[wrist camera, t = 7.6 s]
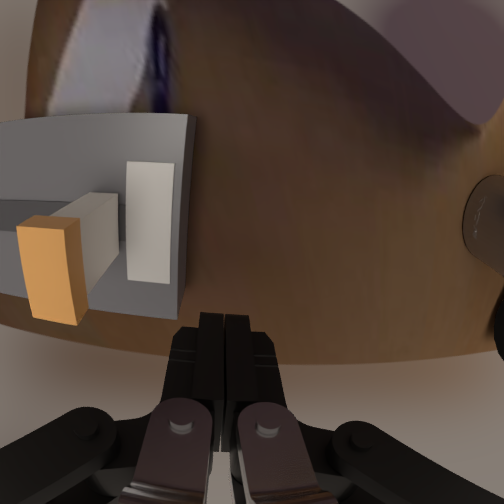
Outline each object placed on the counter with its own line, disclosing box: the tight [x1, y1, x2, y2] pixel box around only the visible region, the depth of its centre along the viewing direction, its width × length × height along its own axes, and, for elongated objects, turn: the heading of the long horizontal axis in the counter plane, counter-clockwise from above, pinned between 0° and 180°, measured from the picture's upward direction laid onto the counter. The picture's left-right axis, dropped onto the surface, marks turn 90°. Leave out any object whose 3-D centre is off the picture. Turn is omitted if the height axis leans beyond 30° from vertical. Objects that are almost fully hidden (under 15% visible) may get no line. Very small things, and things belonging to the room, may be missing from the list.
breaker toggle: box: [16, 192, 119, 326], centre depth 15 cm, size 3×5×8 cm, turn 173°
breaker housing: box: [0, 113, 197, 320], centre depth 21 cm, size 22×14×5 cm, turn 83°
